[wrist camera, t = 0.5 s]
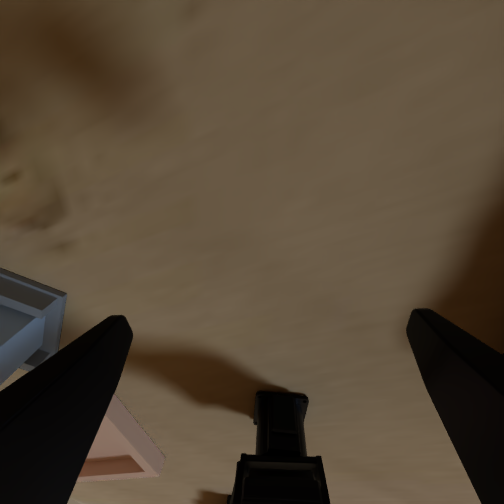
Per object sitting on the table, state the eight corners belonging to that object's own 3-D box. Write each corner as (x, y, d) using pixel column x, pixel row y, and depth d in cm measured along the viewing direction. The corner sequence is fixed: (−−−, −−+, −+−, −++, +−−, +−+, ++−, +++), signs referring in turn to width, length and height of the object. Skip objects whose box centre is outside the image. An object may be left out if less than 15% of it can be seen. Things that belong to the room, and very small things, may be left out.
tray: (106, 384, 33) (95, 403, 31) (165, 457, 41) (159, 476, 39) (1, 400, 37) (-17, 418, 35) (73, 465, 44) (62, 483, 42)
